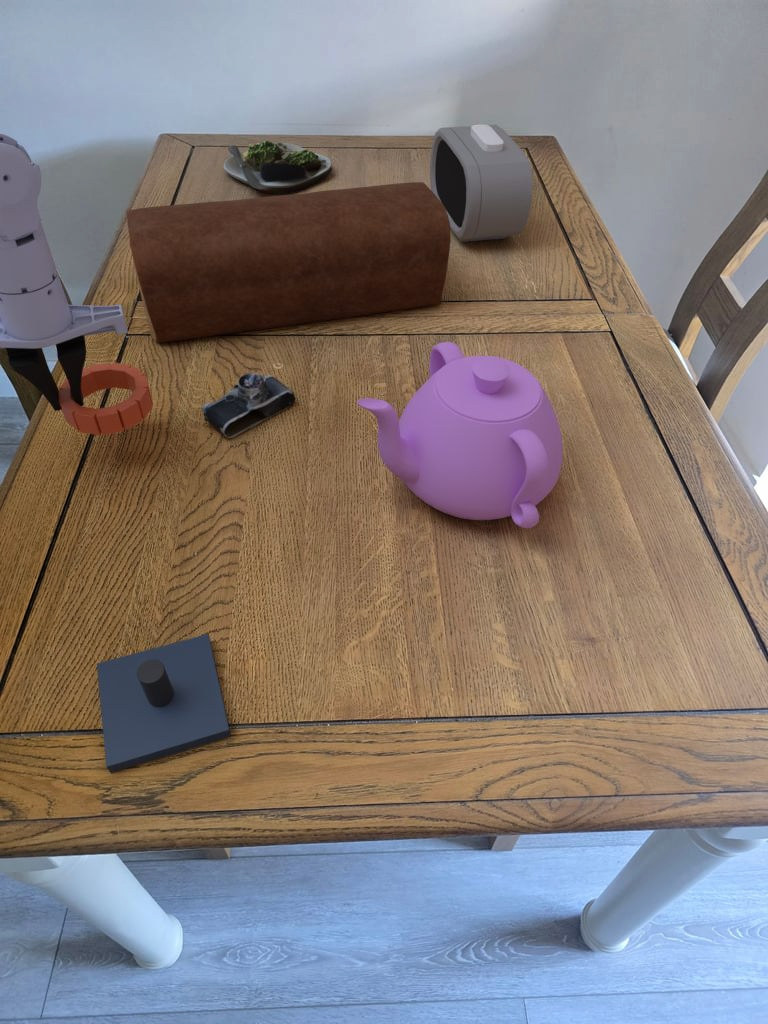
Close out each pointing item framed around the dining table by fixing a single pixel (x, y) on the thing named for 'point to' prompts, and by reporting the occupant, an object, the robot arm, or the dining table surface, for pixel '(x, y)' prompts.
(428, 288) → the bread
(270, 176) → the salad plate
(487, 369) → the teapot
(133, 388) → the segmented red ring
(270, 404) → the camera
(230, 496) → the dining table surface
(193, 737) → the ring stacking peg
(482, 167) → the alarm clock
